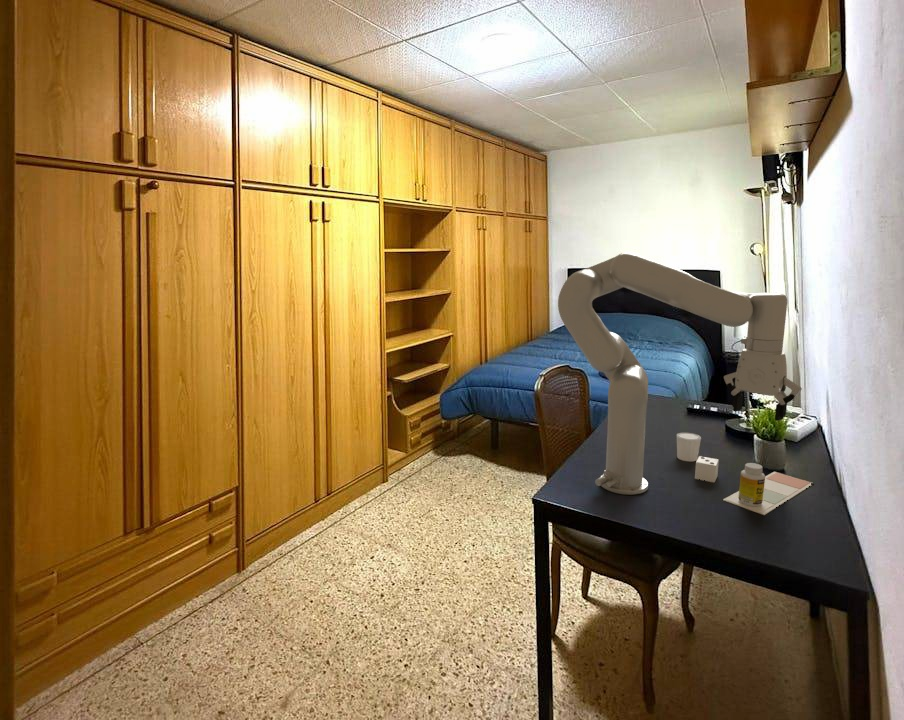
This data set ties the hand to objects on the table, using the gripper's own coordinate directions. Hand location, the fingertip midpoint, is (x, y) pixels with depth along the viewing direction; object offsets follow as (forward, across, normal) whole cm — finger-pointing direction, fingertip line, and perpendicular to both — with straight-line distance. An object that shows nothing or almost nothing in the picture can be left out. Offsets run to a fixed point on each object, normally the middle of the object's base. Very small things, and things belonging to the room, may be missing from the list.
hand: (757, 414), depth 133 cm
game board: (+23, +1, +9) cm, 25 cm away
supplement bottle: (+22, +1, -1) cm, 23 cm away
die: (+23, -14, +6) cm, 27 cm away
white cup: (+23, -25, +15) cm, 37 cm away
